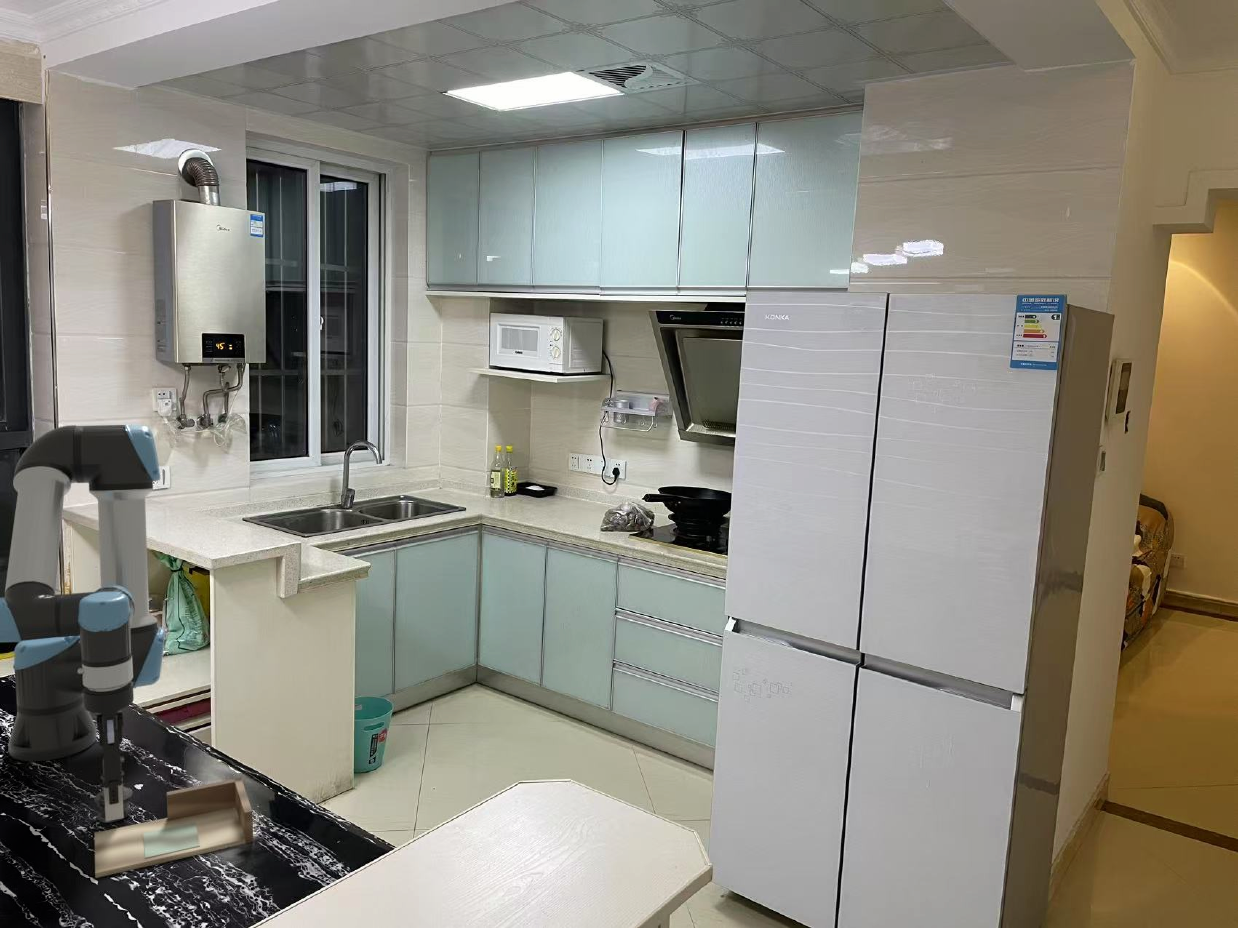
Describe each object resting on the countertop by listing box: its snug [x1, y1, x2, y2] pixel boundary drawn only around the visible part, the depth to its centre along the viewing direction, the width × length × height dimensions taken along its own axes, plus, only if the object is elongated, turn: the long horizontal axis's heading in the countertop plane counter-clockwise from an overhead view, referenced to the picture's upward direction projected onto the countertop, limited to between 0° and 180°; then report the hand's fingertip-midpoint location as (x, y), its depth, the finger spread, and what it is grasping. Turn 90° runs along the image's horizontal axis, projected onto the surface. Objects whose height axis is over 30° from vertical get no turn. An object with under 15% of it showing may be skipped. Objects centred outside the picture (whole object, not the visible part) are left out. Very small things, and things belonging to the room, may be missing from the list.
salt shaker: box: [93, 756, 133, 823], centre depth 160 cm, size 6×6×12 cm
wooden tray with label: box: [94, 777, 254, 879], centre depth 154 cm, size 13×23×6 cm, turn 120°
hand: (114, 809), depth 161 cm, fingers closed on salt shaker, 6 cm apart
